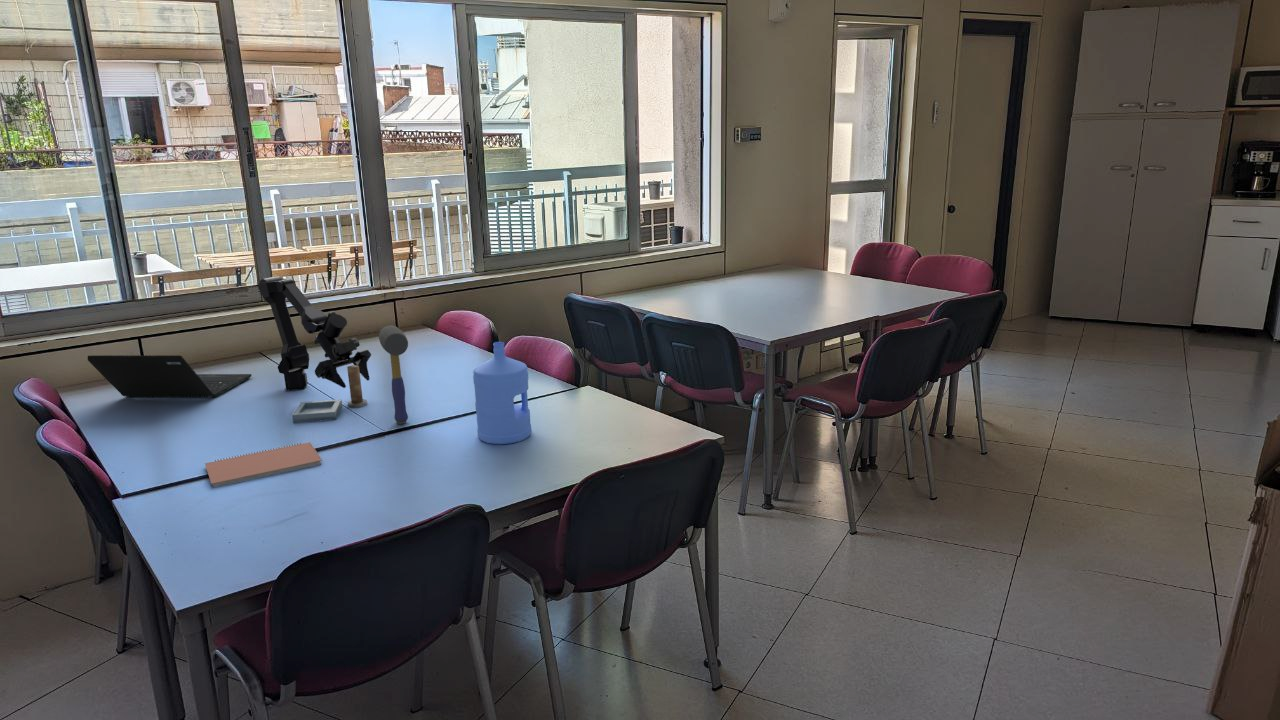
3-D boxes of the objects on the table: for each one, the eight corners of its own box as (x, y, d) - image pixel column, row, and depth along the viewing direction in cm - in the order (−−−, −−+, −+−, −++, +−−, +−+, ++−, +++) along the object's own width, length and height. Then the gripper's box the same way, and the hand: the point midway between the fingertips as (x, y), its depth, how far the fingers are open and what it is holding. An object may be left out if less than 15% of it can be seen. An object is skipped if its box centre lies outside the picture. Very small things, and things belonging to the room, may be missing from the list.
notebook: (310, 446, 242) (309, 440, 241) (322, 465, 228) (321, 458, 228) (205, 467, 228) (204, 461, 228) (212, 489, 215) (211, 482, 214)
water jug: (480, 448, 237) (473, 352, 229) (475, 429, 252) (468, 339, 244) (535, 441, 241) (530, 347, 233) (527, 423, 256) (522, 334, 248)
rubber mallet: (386, 418, 262) (375, 325, 254) (410, 414, 265) (401, 322, 257) (392, 431, 251) (382, 334, 243) (418, 427, 254) (408, 331, 246)
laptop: (253, 378, 307) (245, 327, 302) (191, 413, 271) (181, 355, 266) (168, 377, 310) (158, 326, 305) (95, 412, 274) (83, 355, 269)
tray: (293, 422, 260) (292, 415, 259) (301, 409, 272) (300, 402, 271) (335, 419, 262) (334, 411, 262) (342, 406, 274) (341, 399, 273)
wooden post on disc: (346, 408, 272) (341, 370, 269) (349, 402, 278) (344, 364, 274) (365, 407, 273) (361, 368, 270) (368, 401, 279) (363, 363, 275)
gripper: (315, 337, 264) (341, 376, 261) (364, 325, 279) (389, 362, 276) (303, 358, 271) (329, 396, 267) (352, 345, 285) (376, 381, 282)
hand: (357, 383), depth 273 cm, fingers open, 9 cm apart
